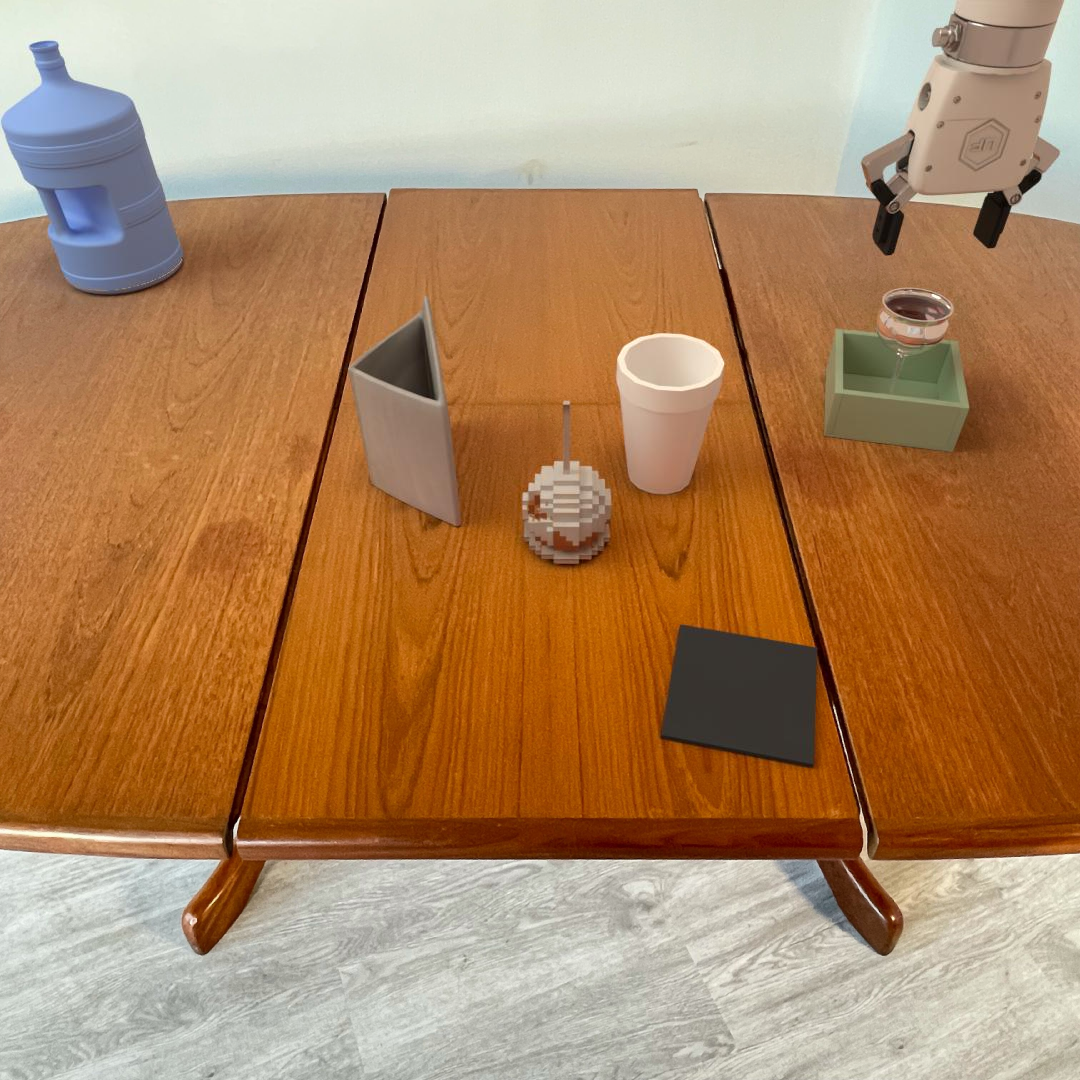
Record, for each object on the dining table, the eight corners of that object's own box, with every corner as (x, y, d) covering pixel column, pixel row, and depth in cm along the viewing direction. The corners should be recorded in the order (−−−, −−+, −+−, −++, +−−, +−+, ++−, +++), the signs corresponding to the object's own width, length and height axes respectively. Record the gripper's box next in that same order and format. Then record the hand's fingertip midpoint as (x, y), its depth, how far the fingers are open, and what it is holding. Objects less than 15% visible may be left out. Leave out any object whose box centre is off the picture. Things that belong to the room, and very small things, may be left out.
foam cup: (654, 433, 92) (664, 322, 83) (726, 472, 87) (745, 359, 78) (592, 474, 87) (596, 362, 78) (665, 518, 82) (677, 404, 73)
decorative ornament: (526, 509, 84) (520, 375, 73) (607, 509, 83) (613, 375, 73) (522, 567, 78) (515, 431, 68) (610, 568, 78) (616, 432, 67)
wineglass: (841, 407, 94) (868, 305, 86) (872, 380, 97) (901, 280, 89) (901, 432, 90) (935, 329, 82) (930, 404, 94) (966, 302, 86)
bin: (942, 383, 97) (957, 340, 94) (952, 452, 89) (969, 408, 85) (825, 370, 100) (835, 328, 96) (824, 436, 91) (835, 392, 87)
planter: (366, 435, 93) (331, 263, 79) (440, 424, 94) (419, 253, 80) (377, 539, 81) (339, 358, 68) (462, 526, 82) (441, 345, 69)
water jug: (140, 234, 129) (64, 19, 110) (209, 262, 122) (141, 37, 103) (43, 277, 120) (-58, 51, 101) (112, 309, 113) (18, 73, 94)
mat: (816, 651, 71) (817, 647, 70) (812, 768, 63) (814, 764, 63) (679, 627, 73) (680, 623, 72) (660, 738, 65) (660, 734, 65)
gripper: (910, 61, 67) (857, 271, 78) (1128, 49, 68) (1043, 258, 80) (873, 33, 72) (829, 233, 84) (1075, 22, 73) (1003, 222, 85)
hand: (933, 245), depth 82 cm, fingers open, 9 cm apart
